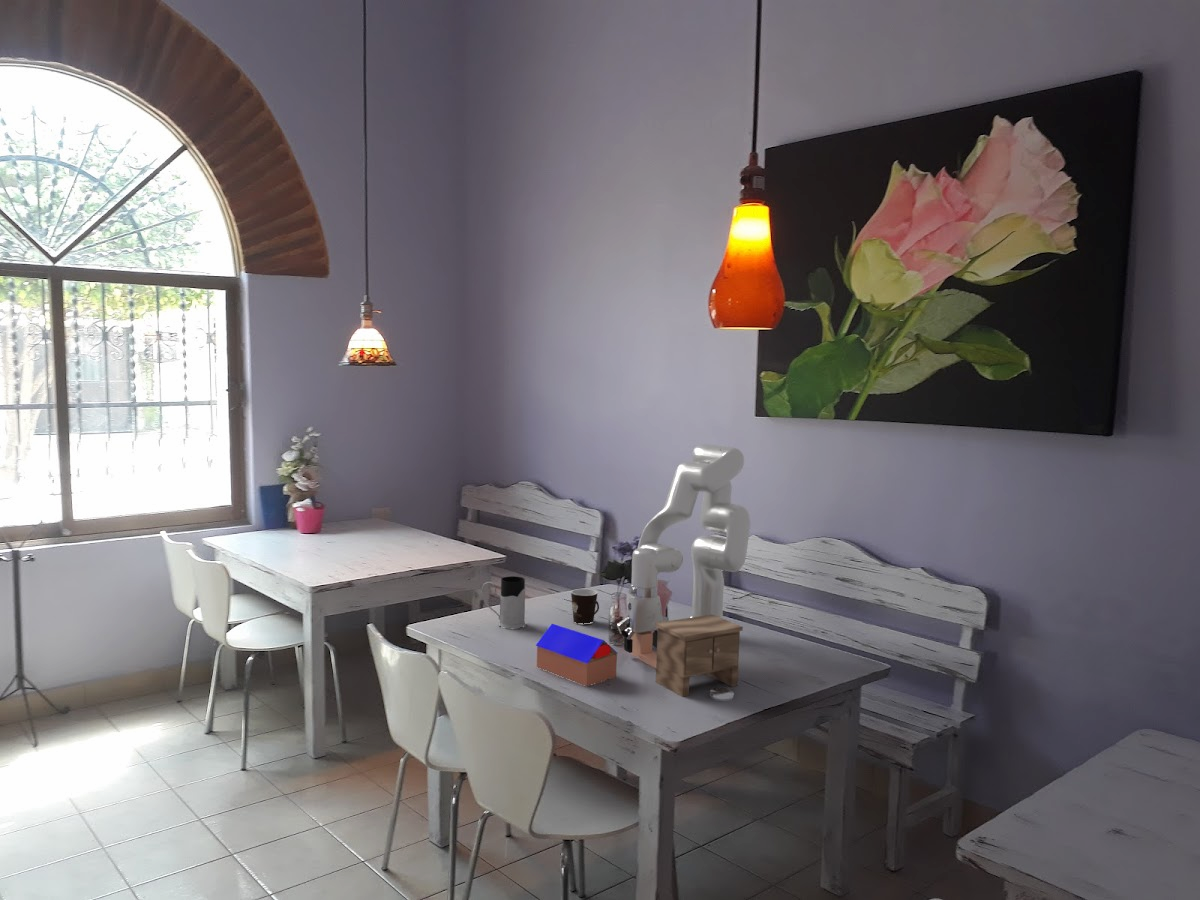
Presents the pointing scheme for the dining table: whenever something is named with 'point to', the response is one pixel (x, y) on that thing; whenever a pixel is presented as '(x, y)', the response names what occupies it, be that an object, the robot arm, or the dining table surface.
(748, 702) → the dining table surface
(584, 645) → the house
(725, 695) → the steel disc
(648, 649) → the tan stepped beam
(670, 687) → the cabinet
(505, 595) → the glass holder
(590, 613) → the coffee mug
